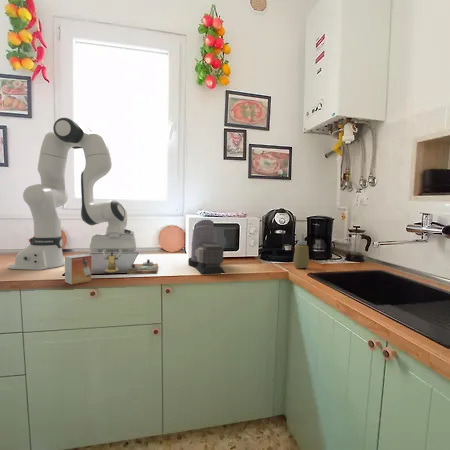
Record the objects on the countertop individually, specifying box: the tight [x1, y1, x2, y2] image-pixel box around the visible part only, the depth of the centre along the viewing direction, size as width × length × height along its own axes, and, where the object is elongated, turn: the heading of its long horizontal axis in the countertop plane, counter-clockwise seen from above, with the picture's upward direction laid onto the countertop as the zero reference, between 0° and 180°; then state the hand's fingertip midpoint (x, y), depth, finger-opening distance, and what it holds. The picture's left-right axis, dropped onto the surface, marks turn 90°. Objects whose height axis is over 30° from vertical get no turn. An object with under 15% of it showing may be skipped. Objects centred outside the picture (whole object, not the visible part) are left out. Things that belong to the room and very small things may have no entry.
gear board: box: [126, 259, 159, 275], centre depth 135 cm, size 13×15×4 cm
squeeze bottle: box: [293, 233, 310, 269], centre depth 149 cm, size 8×8×18 cm
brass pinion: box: [104, 250, 119, 274], centre depth 129 cm, size 6×6×10 cm
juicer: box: [187, 219, 226, 276], centre depth 144 cm, size 30×16×24 cm, turn 18°
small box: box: [64, 253, 92, 285], centre depth 112 cm, size 8×6×10 cm
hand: (111, 258), depth 128 cm, fingers closed on brass pinion, 3 cm apart
